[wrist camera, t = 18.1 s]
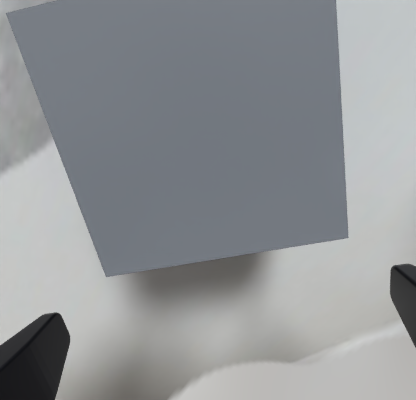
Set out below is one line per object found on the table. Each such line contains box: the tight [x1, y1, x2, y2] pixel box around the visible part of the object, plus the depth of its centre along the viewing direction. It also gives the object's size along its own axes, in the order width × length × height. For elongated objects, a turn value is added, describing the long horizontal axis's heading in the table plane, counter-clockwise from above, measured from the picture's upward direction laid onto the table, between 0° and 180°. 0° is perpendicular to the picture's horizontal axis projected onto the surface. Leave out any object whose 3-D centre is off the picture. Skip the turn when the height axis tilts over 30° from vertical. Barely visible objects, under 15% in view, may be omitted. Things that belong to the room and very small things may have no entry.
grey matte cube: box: [6, 0, 348, 277], centre depth 13 cm, size 8×8×9 cm
